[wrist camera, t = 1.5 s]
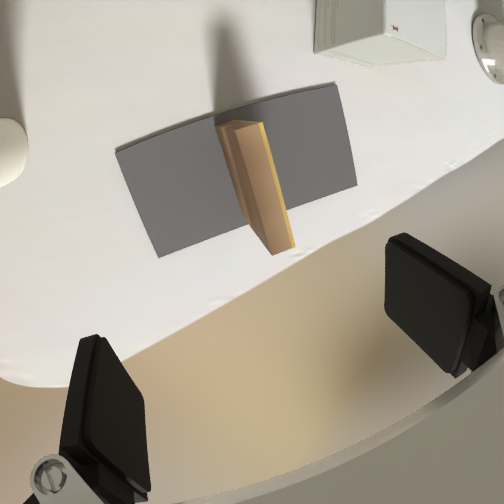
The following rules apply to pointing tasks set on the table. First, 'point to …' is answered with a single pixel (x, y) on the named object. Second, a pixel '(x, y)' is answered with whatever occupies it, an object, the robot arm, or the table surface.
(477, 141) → the table surface
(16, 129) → the cylindrical container
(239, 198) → the tile
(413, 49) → the supplement box
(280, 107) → the mat
